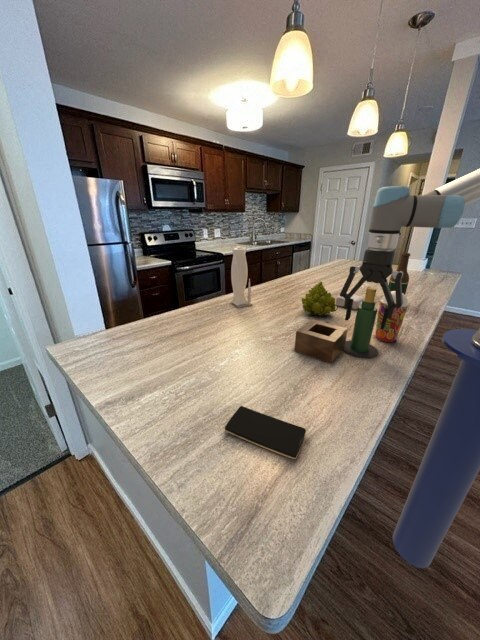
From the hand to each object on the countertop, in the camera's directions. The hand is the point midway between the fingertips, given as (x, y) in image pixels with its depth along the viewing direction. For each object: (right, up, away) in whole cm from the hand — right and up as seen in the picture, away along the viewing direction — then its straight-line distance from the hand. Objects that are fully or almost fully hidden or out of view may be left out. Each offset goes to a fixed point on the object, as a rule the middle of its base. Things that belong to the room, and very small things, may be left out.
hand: (364, 323), depth 81 cm
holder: (-13, -8, +4) cm, 16 cm away
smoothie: (+12, -6, +11) cm, 18 cm away
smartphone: (-34, -22, -28) cm, 49 cm away
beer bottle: (+36, +9, +47) cm, 60 cm away
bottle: (0, -8, +4) cm, 9 cm away
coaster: (0, -9, +4) cm, 9 cm away
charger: (+15, +7, +41) cm, 44 cm away
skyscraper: (-39, +8, +43) cm, 59 cm away
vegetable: (-5, +4, +33) cm, 34 cm away
